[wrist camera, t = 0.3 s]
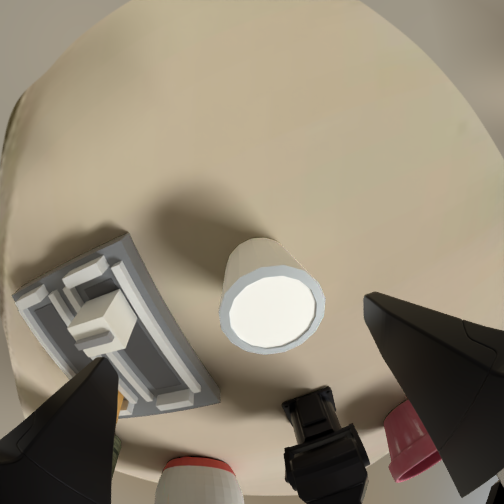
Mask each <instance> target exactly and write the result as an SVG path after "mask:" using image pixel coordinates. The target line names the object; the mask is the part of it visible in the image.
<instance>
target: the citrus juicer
mask: <svg viewBox="0 0 504 504" xmlns="http://www.w3.org/2000/svg"><path fill="white" fill-rule="evenodd" d="M155 504H244V499H243V494H242V491H241V488H240V485H239V483H238V481H237V479H236V475H235V474H234V472H233V470H232V469H231V467H230V466H229V465H228V464H226V463H224V462H222V461H218V460H214V459H209V458H200V457H188V456H184V457H182V458H176V459H173V460H171V461H169V462H168V463H167V465H166V466H165V468H164V469H163V471H162V475H161V477H160V479H159V482H158V485H157V489H156V495H155Z"/></svg>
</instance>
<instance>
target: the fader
mask: <svg viewBox="0 0 504 504" xmlns="http://www.w3.org/2000/svg"><path fill="white" fill-rule="evenodd" d="M136 321H137V316H136V315H135V313H134V312H133V310H132V308H131V307H130V305H129V303H128V302H127V300H126V298H125V297H124V295H123V293H122V292H121V290H120V289H118V290H115V291H113V292H110V293H108V294H105V295H102V296H100V297H97V298H94V299H92V300H89V301H87V302H85V304H84V305H83V306H82V308H81V309H80V311H79V312H78V313H77V315H76V316H75V318H74V319H73V320H72V322H71V323H70V325H69V326H68V328H67V329H68V331H69V332H70V333H71V335H72V336H73V338H74V339H75V340H76V343H75V346H76V348H77V349H78V350H79V351H80V350H83V351H84V352H85V354H86V355H87V356H88V357H92V356H97V355H101V354H105V353H109V352H113V351H117V350H121V349H125V348H126V345H127V343H128V340H129V338H130V335H131V333H132V330H133V328H134V325H135V323H136Z"/></svg>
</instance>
